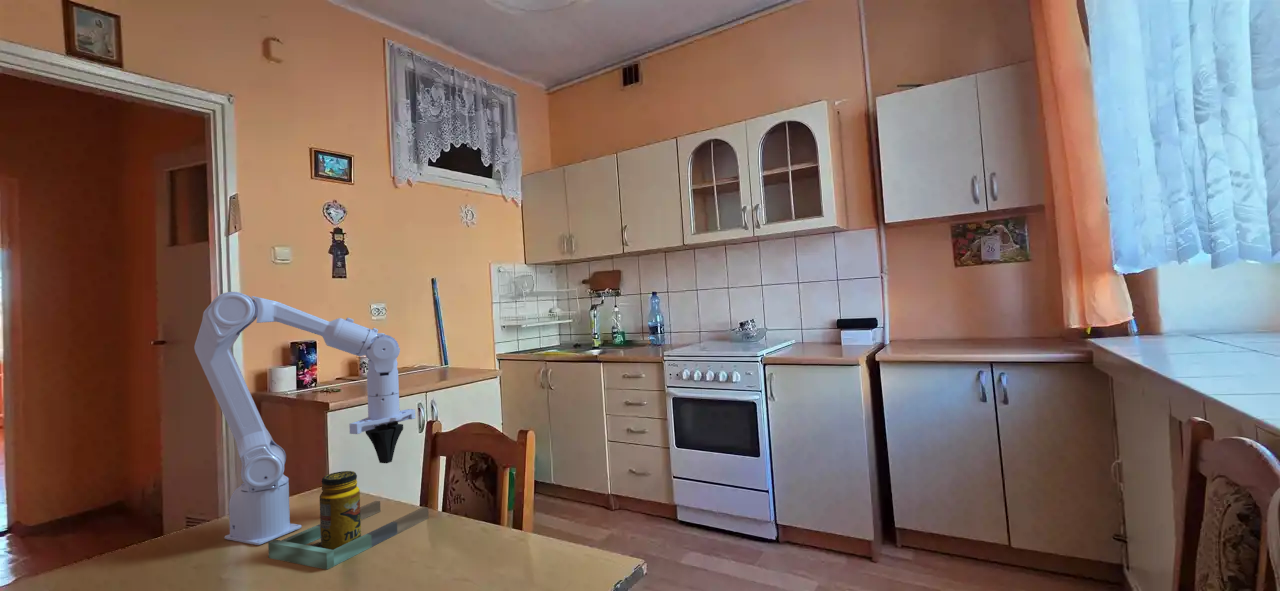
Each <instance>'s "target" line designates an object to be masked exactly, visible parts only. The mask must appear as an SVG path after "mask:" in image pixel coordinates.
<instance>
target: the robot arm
mask: <svg viewBox="0 0 1280 591" xmlns="http://www.w3.org/2000/svg"><path fill="white" fill-rule="evenodd" d="M201 320H202V321H201V323H200V327H199V330H198V334H197V337H196V340H195V343H194V347H193V348H194V352H195V354H196V355H195V356H197V359H198V361H199V363H200V366H201V368H202V370H203V372H204V375H205V376H206V379H207V381H208V383H209V386H210V388H211V390H212V392H213V395H214V396H215V399H216V401H217V403H218V405H219V407H220V410H221V413H222V415H223V416H224V419H225V421H226V423H227V425H228V427H229V429H230V432H231V434H232V436H233V438H234V440H235V443H236V450H237V453H238V457H239V459H240V462H241V470H240V479H241V480H242V483H241V485H240V486H239V487H236V488H235V490H234V491H232V494H231V496H230V499H229V504H228V510H229V511H228V514H229V534H227V535H224V539H225V540H228V541H235V542H240V543H245V544H251V545H256V546H260V545H262V544H265V543H268V542H271V541H273V540H276V539H277V538H280V537H283V536H285V535H287V534H290V533H292V532H294V531H297V530H299V529H301V528H302V524H297V523H291V517H290V515H291V514H290V510H291V508H290V485H289V484H290V482H289V480H290V478H289V477H288V476H286V475H285V474H284V472H285V464H286V460H287V454H286V451H285V450H284V448H282V446H280V445H279V444H277V442H275V441H274V439H273V437H272V435H271V434H270V431H269V430H268V428H266V425H265V424H264V421H263V419H262V416H261V414H260V412H259V410H258V408H257V405H256V403H255V401H254V398H253V397H252V396H253V395H252V394H251V392H250V390H249V387H248V385H247V382H246V381H245V378H244V375H243V373H242V371H241V370H240V367H239V365H238V363H237V360H236V358H235V356H234V354H233V351H232V347H233V346H234V344H235V343H236V341H237V340H238V338H239V337H240V336H241V333H242V332H243V331H245V330H246V329H247V328H248V327H249V326H250V325H252V323H254V322H255V321H256V324H257V323H260V324H261V323H274V322H275V323H280V324H283V325H287V326H289V327H293V328H296V329H298V330H301V331H304V332H308V333H311V334H314V335H318V336H321V337H322V338H323V341H324V343H325V345H326V346H328V347H331V348H333V349H337V350H339V351H342V352H345V353H349V354H351V355H353V356H357V357H363V356H365V357H366V358H367V372H366V382H367V383H366V388H367V390H366V391H367V417H365V418H363V419H360V420H358V421H354V422H351V423H349V425H348V426H349V434H350V435H360V434H362V433H364V432H365V435H366V436H367V438H369V440H370V442H371V443H372V446H373V448H374V450H375V453H376V456H377V459H378V462H379V464H389V463H392V462H393V458H394V455H395V450H396V446H397V442H398V440H399V438H400V435H402V434H401V433H402V432H403V430H404V424H403V423H400V422H404V421H409V420H414V419H416V409H414V408H411V409H410V408H407V409H402V410H400V387H399V386H400V385H399V382H400V381H399V369H398V364H399V363H398V359H397V358H398V357H399V356H400V352H401V347H399V346H400V345H399V343H398V341H397V340H396V339H395V337H392V336H391V335H388V334H386V333H384V332H379V329H378V328H375V327H373V328H372V329H371V328H369V327H366V326H363V325H361V324H358V323H355V322H354V321H355V320H354V319H353V318H350V317H346V318H342V317H338V318H336V319H333V320H331V321H328V320H326V319H323V318H321V317H318V316H315V315H314V314H310V313H308V312H306V311H303V310H300V309H297V308H295V307H292V306H289V305H287V304H284V303H283V302H280V301H275V300H271V299H268V298H263V297H258V296H254V295H251V296H250V295H248V294H245V293H242V292H240V291H239V292H238V291H227V292H223V293H221V294H219V295H217V296H216V297H215V298H214V299H213V300H211V302H210V304H209V305H208V306H207V307H206V308H205V310H204V311H203V313H202V319H201Z"/></svg>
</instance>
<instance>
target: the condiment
mask: <svg viewBox="0 0 1280 591" xmlns="http://www.w3.org/2000/svg"><path fill="white" fill-rule="evenodd" d="M357 480H358V475H357V473H356V472H355V471H352V470H342V471H337V472H332V473H329V474H326V475H325V476H323V477H322V479H321V493H320V495H319V520H320V523H319V524H320V528H321V538H320V541H319V542H316V543H313V544H308V545H309V546H314V547H320V548H325V549H331V550H334V549H336V548H338V547H340V546H342V545H344V544H346V543H348V542H351V541H353V540H355V539H357V538H359V537H361V536H362V534H361V532H362V531H361V530H362V522H361V521H362V520H361V517H360V516H361V515H360V512H361V511H360V507H361V498H360V497H361V493H360V488H359V486H357V485H358V481H357Z"/></svg>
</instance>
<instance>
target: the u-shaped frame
mask: <svg viewBox="0 0 1280 591" xmlns="http://www.w3.org/2000/svg"><path fill="white" fill-rule="evenodd" d="M360 511H361V512H360V515H361V516H360V517H361V520H360V521H363V520H365V519H366V518H370V517H371V516H374V515H376V514H378V513H380V512H381V501H380V500H373V501H372V502H370V503H367V504H364V505H362V506H360ZM429 517H430V516H429V507H427V506H422V507H420V508H418V509H416V510H414V511H411V512H409V513H407V514H406V515H403V516H401V517H399V518H397V519H395V520H392V521H391V522H389V523H386V524H384V525H381V526H380V527H378V528H376V529H374V530H372V531H369V532H367V533H365V534H364V535H361V537H359V538H357V539H355V540H353V541H351V542H348V543H346V544H344V545H342V546H340V547H338V548H336V549H334V550H331V549H325V548H320V547H314V546H309V545H310V543H313V542H315V541H317V540H319V539H320V540H321V528H320V523H319V524H317V525H314V526H312V527H310V528H307V529H305V530H302V531H300V532H298V533H296V534H293V535H291V536H287V537H286V538H283V539H281V540H279V539H273V540H270V541H268V542H267V543H268V559H271V560H278V561H283V562H287V563H293V564H298V565H302V566H305V567H306V566H308V567H312V568H317V569H322V570H326V571H327V570H329V569H331V568H333V567H336V566H337V565H339V564H341V563H344V562H345V561H347V560H349V559H351V558H353V557H355V556H356V555H358V554H362V553H363V552H364V551H366V550H368V549H371V548H373V547H374V546H376V545H378V544H381V543H383V542H384V541H387V540H388V539H390V538H392V537H394V536H396V535H398V534H400V533H402V532H404V531H406V530H408V529H410V528H412V527H414V526H416V525H418V524H420V523H422V522H424V521H425V520H428V519H429Z"/></svg>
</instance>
